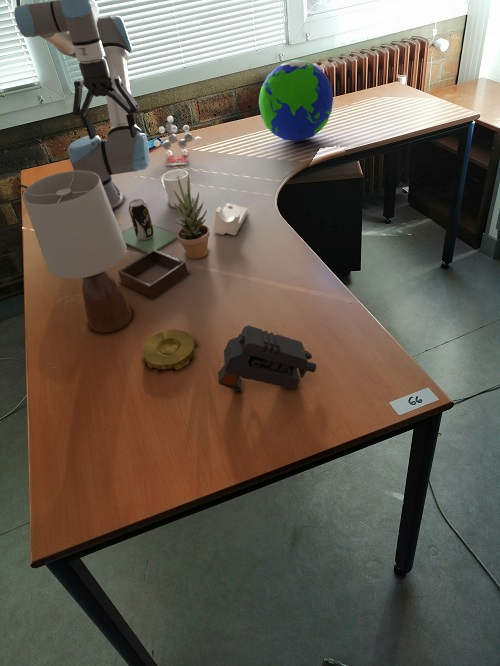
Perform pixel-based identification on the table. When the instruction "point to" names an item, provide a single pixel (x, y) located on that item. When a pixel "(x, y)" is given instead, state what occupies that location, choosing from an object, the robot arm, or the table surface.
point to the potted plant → (192, 225)
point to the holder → (160, 284)
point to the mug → (174, 185)
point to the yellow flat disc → (169, 349)
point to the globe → (296, 100)
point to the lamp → (81, 241)
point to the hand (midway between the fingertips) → (113, 137)
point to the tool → (264, 359)
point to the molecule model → (173, 139)
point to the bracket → (229, 219)
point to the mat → (150, 244)
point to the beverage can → (141, 219)
